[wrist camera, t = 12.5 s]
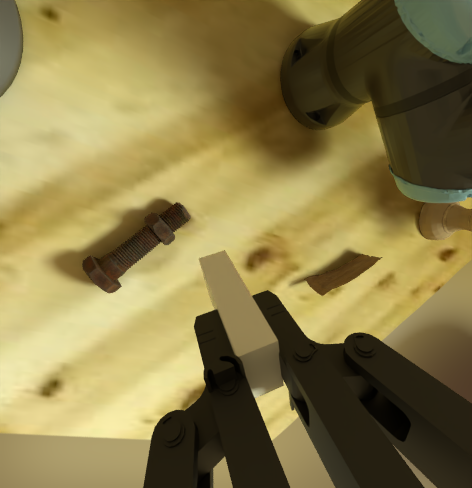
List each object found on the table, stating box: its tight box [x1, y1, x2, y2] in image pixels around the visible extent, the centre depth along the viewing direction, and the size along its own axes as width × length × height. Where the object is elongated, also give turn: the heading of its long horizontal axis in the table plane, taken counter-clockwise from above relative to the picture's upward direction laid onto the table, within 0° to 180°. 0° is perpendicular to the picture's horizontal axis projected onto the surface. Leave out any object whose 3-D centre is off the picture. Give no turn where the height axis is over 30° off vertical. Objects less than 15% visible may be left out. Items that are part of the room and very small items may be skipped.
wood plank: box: [304, 254, 382, 296], centre depth 52 cm, size 15×2×5 cm, turn 109°
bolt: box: [82, 202, 190, 293], centre depth 37 cm, size 6×5×15 cm
